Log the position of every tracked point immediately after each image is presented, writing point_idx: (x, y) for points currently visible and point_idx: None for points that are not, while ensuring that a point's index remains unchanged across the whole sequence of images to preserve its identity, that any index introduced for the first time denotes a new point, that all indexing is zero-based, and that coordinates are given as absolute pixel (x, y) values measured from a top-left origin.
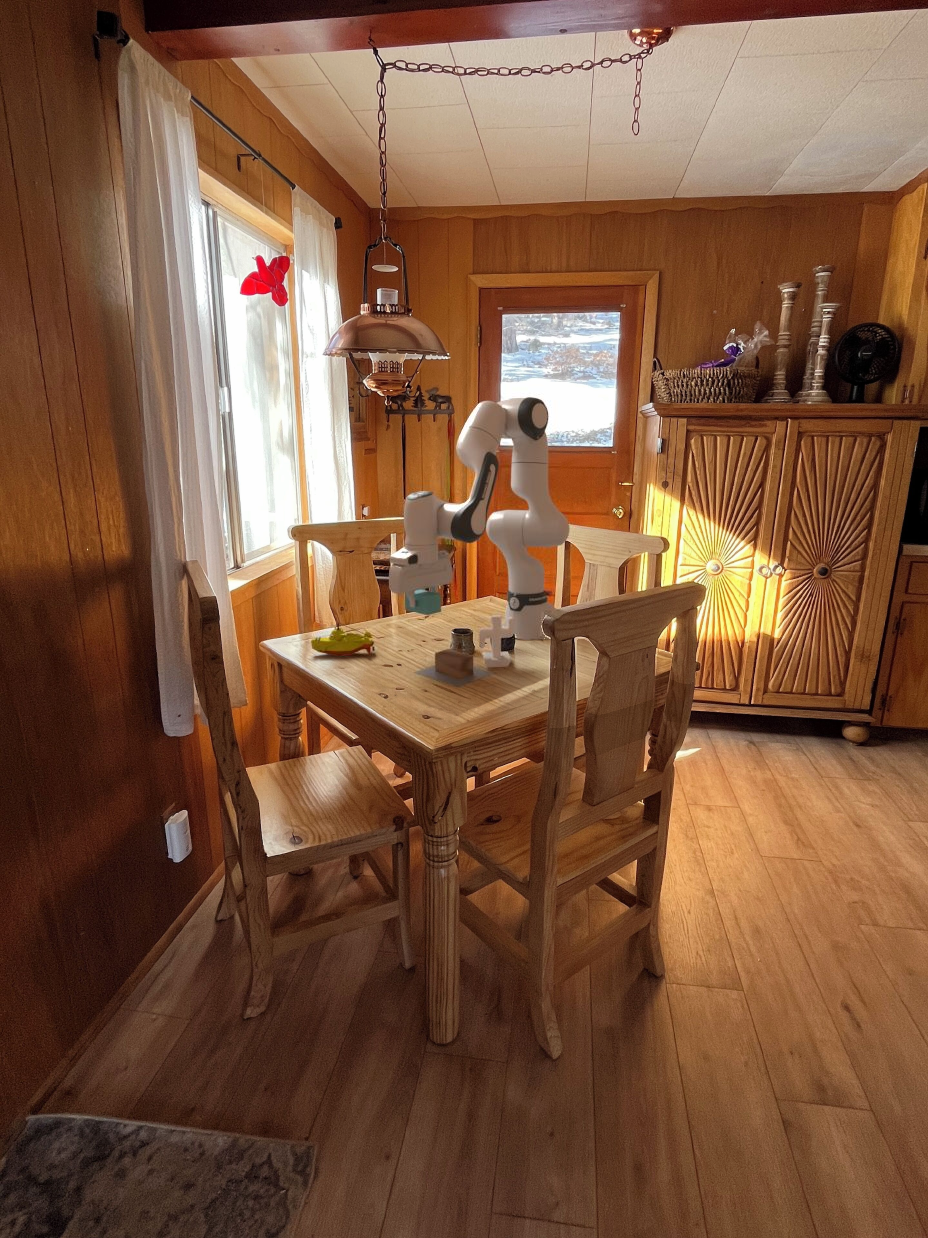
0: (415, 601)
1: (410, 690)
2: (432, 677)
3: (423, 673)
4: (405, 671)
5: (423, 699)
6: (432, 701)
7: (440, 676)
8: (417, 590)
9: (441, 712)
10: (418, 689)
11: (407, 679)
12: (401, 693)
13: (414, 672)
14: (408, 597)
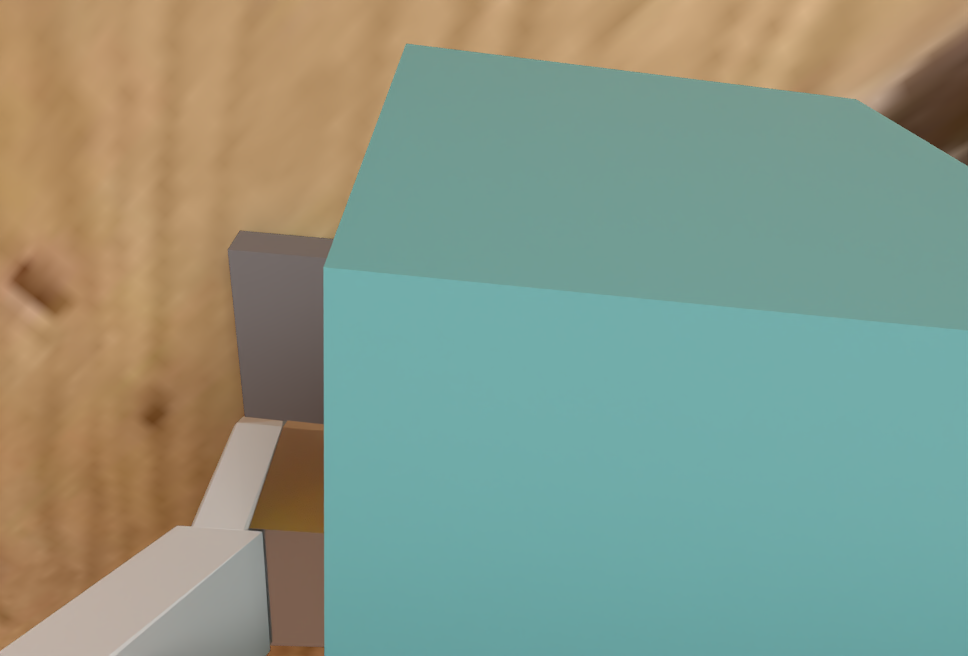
0: (267, 629)
1: (82, 352)
2: (260, 396)
3: (268, 313)
4: (294, 77)
5: (67, 472)
6: (90, 512)
7: (310, 419)
8: (917, 515)
9: (47, 594)
10: (133, 375)
11: (188, 213)
12: (6, 344)
13: (233, 254)
14: (83, 632)
